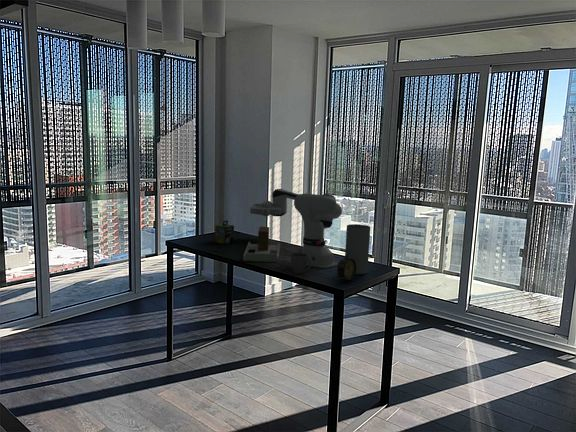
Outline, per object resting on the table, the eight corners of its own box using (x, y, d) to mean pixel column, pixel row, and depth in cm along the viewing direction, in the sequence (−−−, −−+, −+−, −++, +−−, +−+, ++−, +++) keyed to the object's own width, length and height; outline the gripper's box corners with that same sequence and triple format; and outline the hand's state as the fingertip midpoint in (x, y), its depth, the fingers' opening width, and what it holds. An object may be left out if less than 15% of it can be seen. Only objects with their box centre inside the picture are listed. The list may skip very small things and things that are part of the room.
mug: (287, 272, 257) (287, 254, 255) (296, 268, 264) (297, 251, 262) (306, 276, 250) (306, 258, 248) (315, 273, 257) (315, 255, 256)
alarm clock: (343, 284, 239) (345, 252, 236) (334, 282, 243) (336, 250, 240) (356, 280, 247) (357, 249, 244) (347, 277, 251) (349, 247, 248)
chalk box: (224, 240, 327) (224, 218, 325) (234, 242, 322) (234, 220, 320) (214, 242, 320) (214, 220, 318) (224, 244, 315) (224, 222, 312)
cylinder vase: (347, 267, 271) (350, 223, 266) (369, 270, 266) (372, 225, 262) (341, 273, 259) (343, 227, 255) (364, 276, 255) (367, 229, 250)
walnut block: (259, 245, 310) (259, 226, 308) (268, 245, 310) (269, 227, 308) (257, 250, 296) (258, 231, 294) (267, 250, 296) (268, 231, 294)
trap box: (248, 246, 312) (248, 239, 312) (279, 247, 312) (279, 240, 312) (243, 260, 277) (243, 253, 276) (278, 261, 277) (278, 254, 276)
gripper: (281, 214, 325) (281, 218, 311) (251, 213, 325) (249, 217, 311) (282, 205, 324) (281, 208, 310) (251, 204, 324) (249, 207, 310)
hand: (265, 212), depth 311 cm, fingers closed
